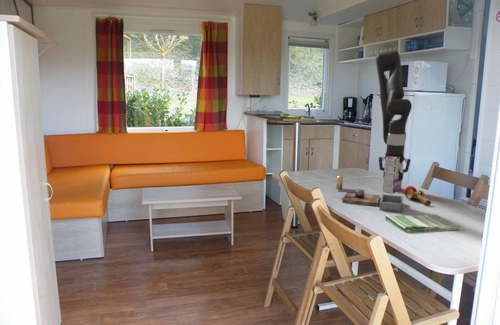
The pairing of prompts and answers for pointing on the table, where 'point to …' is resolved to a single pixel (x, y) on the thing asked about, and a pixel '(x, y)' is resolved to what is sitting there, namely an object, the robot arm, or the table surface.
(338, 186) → the crank
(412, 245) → the table surface
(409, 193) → the kendama
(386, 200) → the tray
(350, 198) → the crank base
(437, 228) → the dish towel
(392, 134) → the robot arm
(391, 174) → the candy bar box
